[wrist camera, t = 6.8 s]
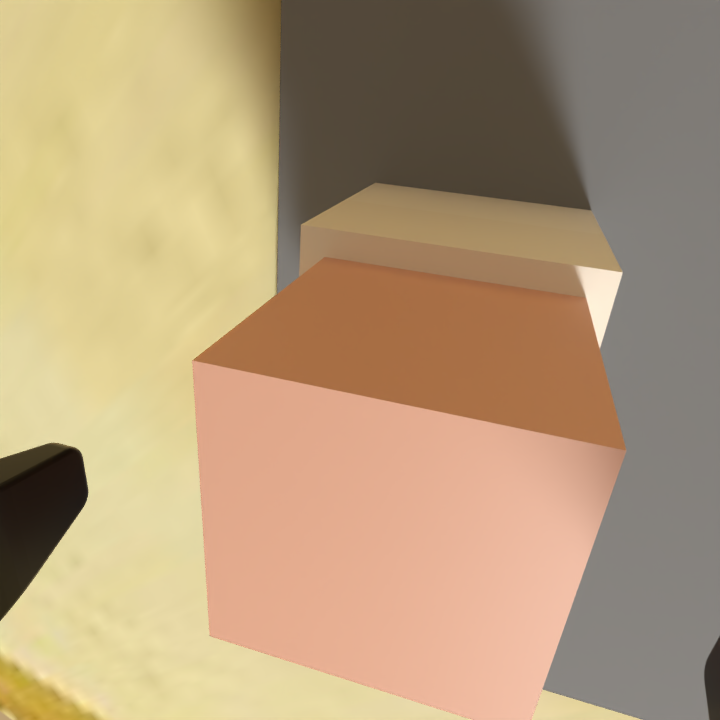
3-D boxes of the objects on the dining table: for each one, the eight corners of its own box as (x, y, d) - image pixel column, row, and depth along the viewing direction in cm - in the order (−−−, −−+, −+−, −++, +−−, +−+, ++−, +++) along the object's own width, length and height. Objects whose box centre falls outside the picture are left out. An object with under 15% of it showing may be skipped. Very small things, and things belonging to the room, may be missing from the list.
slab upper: (603, 234, 12) (622, 271, 10) (542, 455, 15) (545, 531, 12) (345, 199, 14) (300, 224, 11) (331, 409, 16) (292, 469, 14)
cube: (586, 298, 10) (626, 450, 6) (527, 510, 12) (525, 737, 8) (324, 256, 11) (192, 360, 7) (314, 460, 13) (209, 636, 9)
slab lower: (591, 210, 15) (603, 234, 12) (541, 402, 18) (542, 455, 15) (375, 182, 16) (345, 199, 14) (359, 366, 19) (331, 409, 16)
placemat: (1250, 22, 11) (1274, 19, 11) (759, 745, 22) (762, 755, 21) (287, -27, 15) (281, -29, 15) (276, 601, 26) (272, 607, 25)
